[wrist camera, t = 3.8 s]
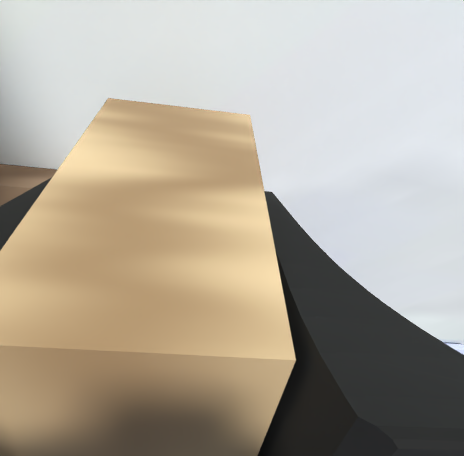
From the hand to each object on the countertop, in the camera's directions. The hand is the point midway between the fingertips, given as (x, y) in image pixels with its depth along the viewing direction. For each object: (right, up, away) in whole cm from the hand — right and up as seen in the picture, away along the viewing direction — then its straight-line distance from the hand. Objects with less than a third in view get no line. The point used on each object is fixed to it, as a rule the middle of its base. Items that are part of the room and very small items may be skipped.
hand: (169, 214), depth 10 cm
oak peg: (0, +2, +2) cm, 3 cm away
